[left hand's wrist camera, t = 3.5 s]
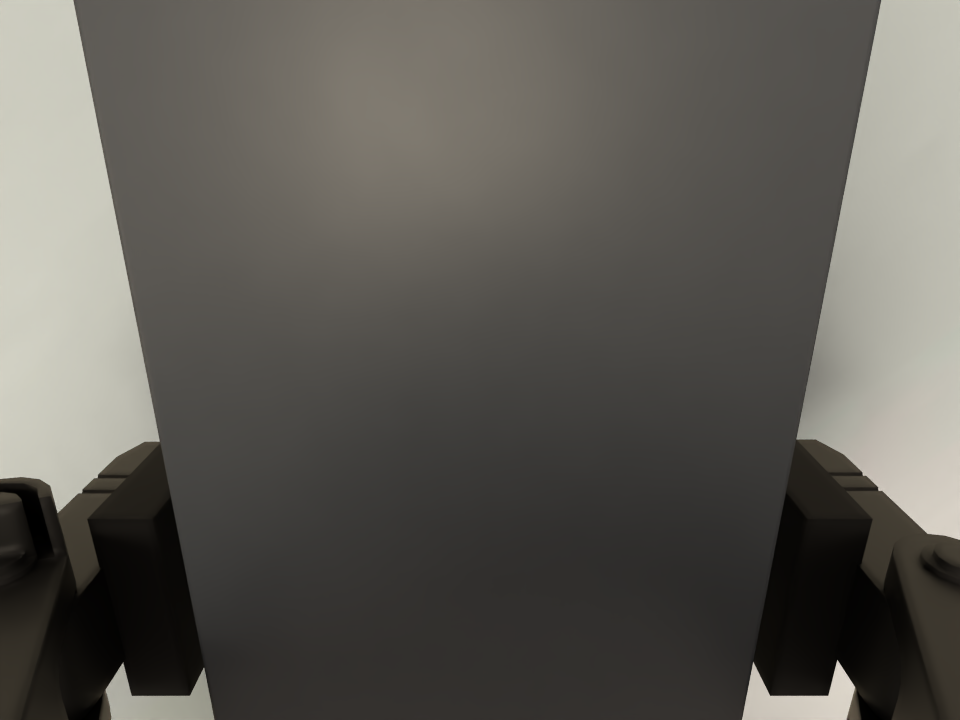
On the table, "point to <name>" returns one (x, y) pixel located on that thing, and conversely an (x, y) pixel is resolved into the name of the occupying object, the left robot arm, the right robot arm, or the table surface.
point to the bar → (477, 334)
